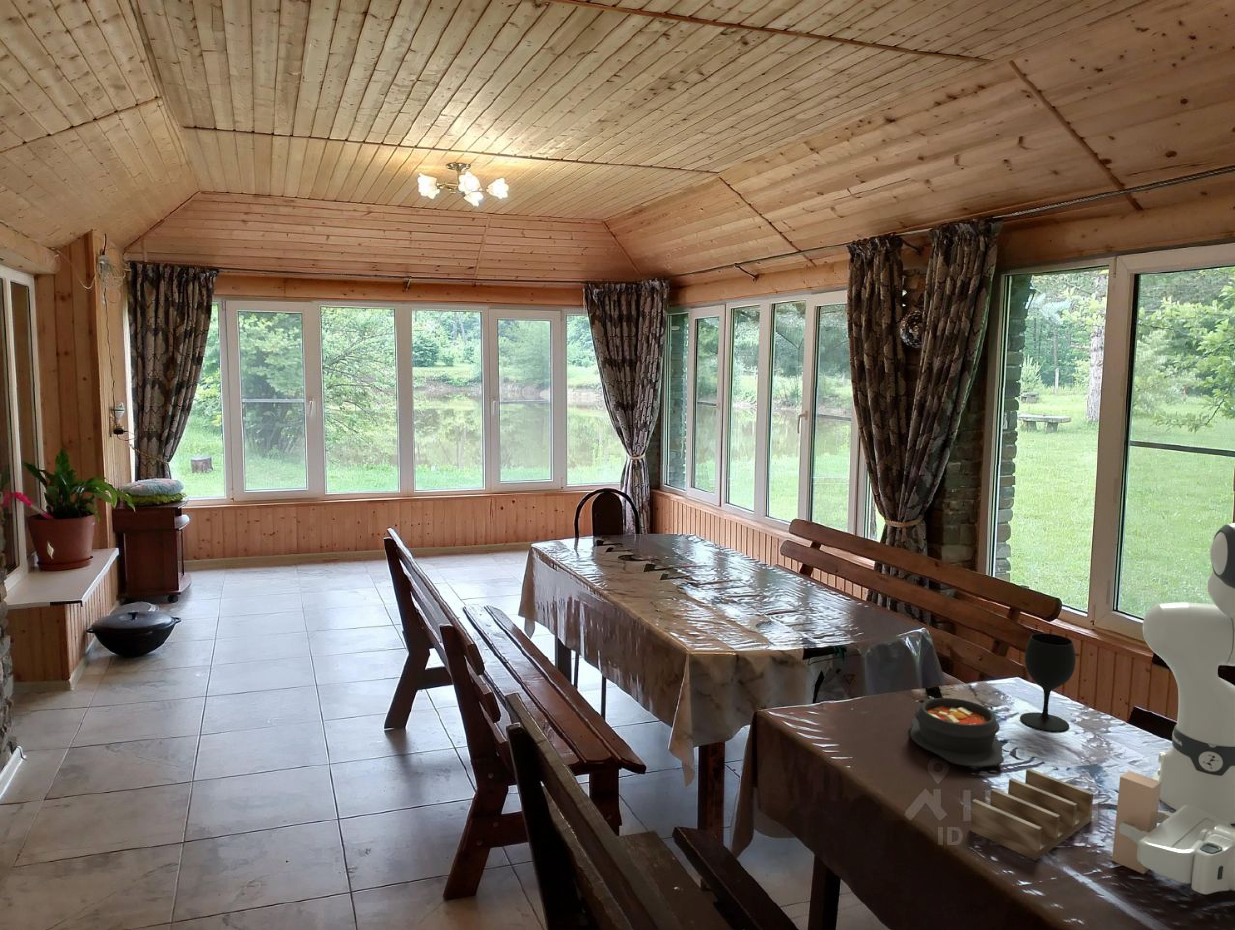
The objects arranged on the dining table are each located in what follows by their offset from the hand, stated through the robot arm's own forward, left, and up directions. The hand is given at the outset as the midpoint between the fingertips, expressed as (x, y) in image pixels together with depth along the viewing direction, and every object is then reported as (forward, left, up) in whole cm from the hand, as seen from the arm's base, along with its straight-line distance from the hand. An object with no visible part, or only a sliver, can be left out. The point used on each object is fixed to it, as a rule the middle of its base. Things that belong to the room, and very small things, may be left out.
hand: (1130, 819), depth 151 cm
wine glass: (-55, -18, -8) cm, 58 cm away
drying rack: (-4, -15, -8) cm, 17 cm away
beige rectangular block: (0, +1, -8) cm, 8 cm away
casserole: (-30, -33, -8) cm, 45 cm away
